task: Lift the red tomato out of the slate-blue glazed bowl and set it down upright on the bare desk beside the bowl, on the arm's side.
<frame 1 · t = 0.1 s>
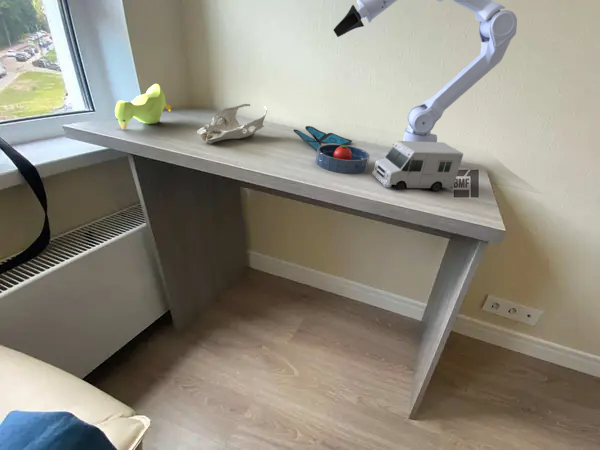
hand: (335, 33, 99), 32 cm above the table, tool tilted 50°, fingers open, 7 cm apart
toy truck: (410, 185, 95), on the table
bowl: (341, 166, 102), on the table
anatomical model: (232, 137, 116), on the table
tomato: (341, 164, 101), resting on bowl
toy: (145, 124, 119), on the table
decorative butterfly: (317, 145, 118), on the table
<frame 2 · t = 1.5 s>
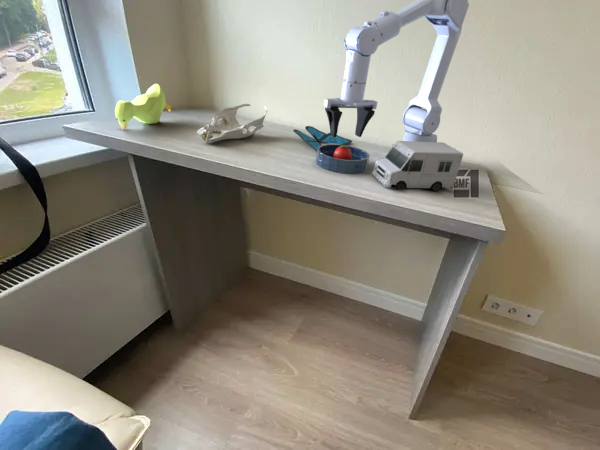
hand: (345, 136, 98), 8 cm above the table, tool pointing down, fingers open, 7 cm apart
nothing on the table moved.
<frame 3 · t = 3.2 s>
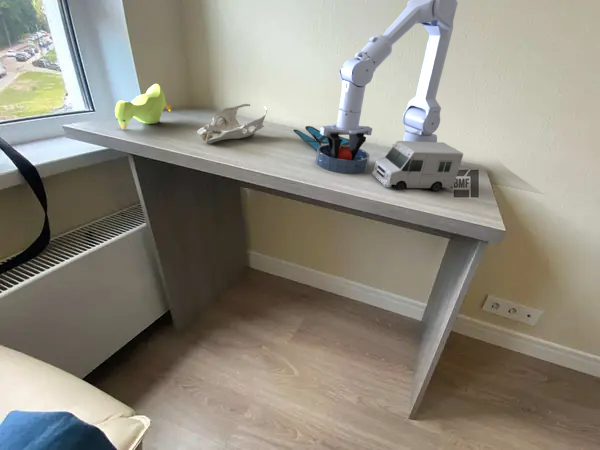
hand: (341, 160, 101), 2 cm above the table, tool pointing down, fingers closed on tomato, 5 cm apart
tomato: (341, 164, 101), point 1 cm above the table, touching bowl, gripper
everything else where it was.
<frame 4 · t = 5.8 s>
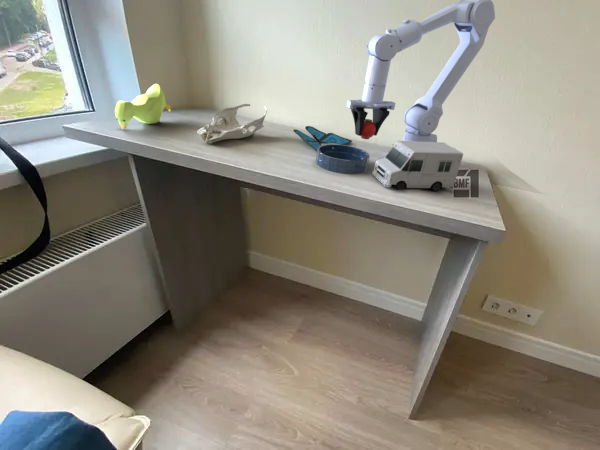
hand: (365, 134, 105), 7 cm above the table, tool pointing down, fingers closed on tomato, 5 cm apart
tomato: (365, 138, 106), point 6 cm above the table, touching gripper
everything else where it was.
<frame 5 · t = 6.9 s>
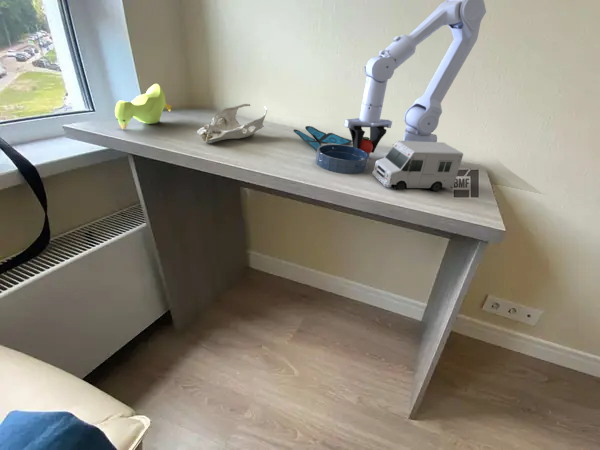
hand: (363, 151, 108), 2 cm above the table, tool pointing down, fingers closed on tomato, 5 cm apart
tomato: (362, 155, 109), point 1 cm above the table, touching gripper
everything else where it was.
when the fingers open (1 cm above the table, at t = 8.6 s): tomato stays where it is, on the table.
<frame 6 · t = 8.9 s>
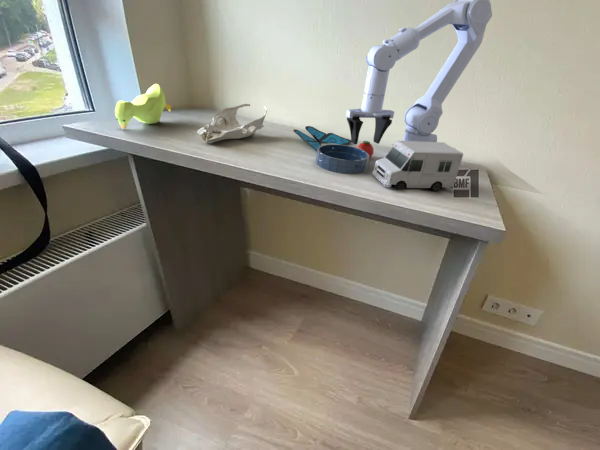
hand: (365, 142, 107), 5 cm above the table, tool pointing down, fingers open, 7 cm apart
tomato: (363, 159, 109), on the table
everything else where it was.
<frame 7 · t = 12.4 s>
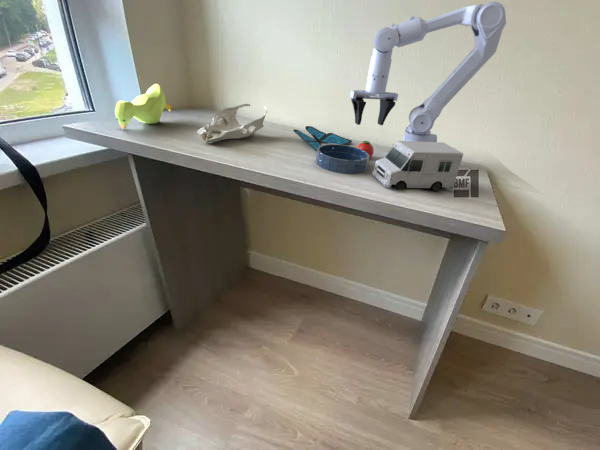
hand: (368, 124, 110), 9 cm above the table, tool pointing down, fingers open, 7 cm apart
nothing on the table moved.
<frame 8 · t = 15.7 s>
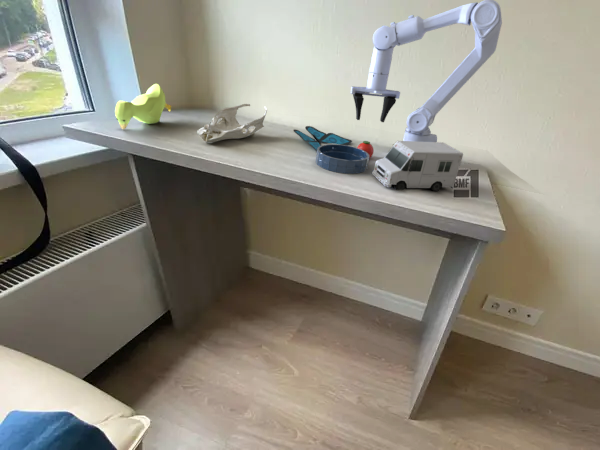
hand: (369, 120, 113), 9 cm above the table, tool pointing down, fingers open, 7 cm apart
nothing on the table moved.
at the end: tomato 0.4 cm from the target spot, on the table; tomato tilted 0°; the gripper is holding nothing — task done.
